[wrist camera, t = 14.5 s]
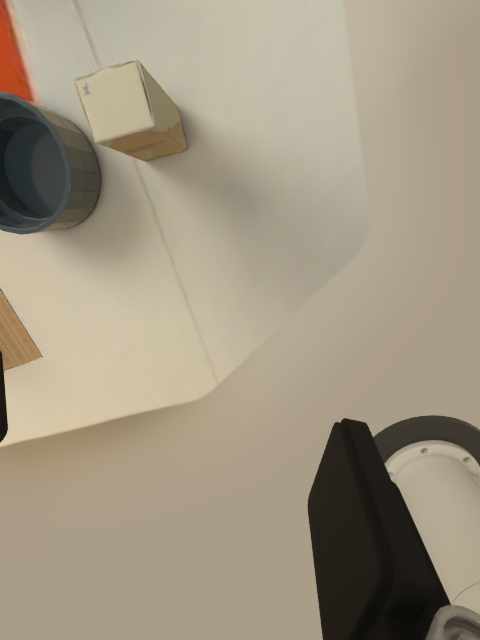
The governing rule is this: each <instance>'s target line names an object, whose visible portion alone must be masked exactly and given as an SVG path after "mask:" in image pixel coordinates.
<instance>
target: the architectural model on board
mask: <svg viewBox="0 0 480 640" xmlns="http://www.w3.org/2000/svg"><path fill="white" fill-rule="evenodd" d="M0 351H1V352H2V357H3V370H7V369H9V368H12V367H15V366H18V365H21V364H23V363H26V362H29V361H32V360H35V359H37V358H40V357H42V356H41V354H40V352H39V351H38V349H37V348H36V346H35V344H34V343H33V341H32V340H31V338H30V336H29V335H28V333H27V332H26V330H25V328H24V327H23V325H22V324H21V322H20V320H19V319H18V317H17V316H16V314H15V312H14V311H13V309H12V308H11V306H10V304H9V303H8V301H7V300H6V298H5V296H4V295H3V293H2V292H1V290H0Z"/></svg>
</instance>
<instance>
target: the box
mask: <svg viewBox="0 0 480 640" xmlns="http://www.w3.org/2000/svg"><path fill="white" fill-rule="evenodd" d="M74 83H75V86H76V89H77V92H78V96H79V99H80V102H81V105H82V108H83V111H84V114H85V117H86V119H87V122H88V125H89V128H90V131H91V133H92V136H93V139H94V141H95V142H96V143H99V144H102V145H104V146H107V147H109V148H112V149H115V150H117V151H120V152H122V153H125V154H127V155H130V156H132V157H135V158H137V159H140V160H143V161H149V160H153V159H156V158H160V157H164V156H168V155H171V154H175V153H178V152H182V151H185V150H187V144H186V140H185V135H184V131H183V127H182V122H181V118H180V115H179V111H178V107H177V105H176V104H175V103H174V102H173V101H172V100H171V98H170V97H169V96H168V95H167V94H166V93H165V91H164V90H163V89H162V88H161V87H160V85H159V84H158V83H157V82H156V81H155V80H154V78H153V77H152V76H151V75H150V74H149V72H148V71H147V70H146V69H145V68H144V66H143V65H142V64H141V63H140V61H139V60H137V59H133V60H130V61H126V62H123V63H119V64H116V65H113V66H110V67H107V68H104V69H101V70H98V71H95V72H92V73H89V74H87V75H84V76H81V77H78V78H75V79H74Z"/></svg>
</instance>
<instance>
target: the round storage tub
mask: <svg viewBox="0 0 480 640" xmlns="http://www.w3.org/2000/svg"><path fill="white" fill-rule="evenodd" d="M99 176H100V174H99V169H98V165H97V161H96V157H95V154H94V152H93V150H92V148H91V146H90V144H89V143H88V141H87V139H86V137H85V136H84V135H83V134H82V132H81V131H80V130H79V129H78V128H77V127H76V126H75V125H74V124H73V123H72V122H71V121H70V120H68V119H66V118H65V117H63V116H61V115H59V114H58V113H56V112H54V111H52V110H50V109H47V108H45V107H43V106H40V105H38V104H35V103H33V102H31V101H28V100H26V99H24V98H21V97H19V96H17V95H14V94H10V93H4V92H0V229H1V230H2V231H7V232H11V233H16V234H30V233H38V232H46V231H54V230H61V229H68V228H71V227H73V226H75V225H77V224H79V223H80V222H82V221H83V220H84V219H85V218H86V217H87V216H88V214H89V213H90V212H91V211H92V210H93V208H94V206H95V203H96V200H97V197H98V194H99Z"/></svg>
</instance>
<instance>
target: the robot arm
mask: <svg viewBox="0 0 480 640" xmlns="http://www.w3.org/2000/svg"><path fill="white" fill-rule="evenodd" d="M7 430H8V423H7V410H6V397H5V383H4V370H3V357H2V352H1V351H0V442H1V441H2V440H3V439H4V437H5V436H6V434H7ZM308 516H309V524H310V532H311V540H312V549H313V558H314V567H315V576H316V584H317V593H318V601H319V609H320V618H321V627H322V634H323V640H480V466H479V464H478V462H477V461H476V460H475V459H474V457H473V456H472V455H471V454H470V453H469V452H468V451H467V450H466V449H464V448H463V447H461V446H459V445H457V444H454V443H452V442H447V441H442V440H427V441H420V442H416V443H412V444H410V445H407V446H405V447H403V448H401V449H400V450H398V451H396V452H395V453H394V454H393V455H392V456H391V457H390V458H389V459H388V460H387V461H386V463H385V464H384V462H383V460H382V457H381V455H380V453H379V450H378V448H377V446H376V443H375V441H374V439H373V437H372V435H371V432H370V430H369V427H368V426H367V424H366V423H365V422H360V421H355V420H350V419H346V418H344V419H343V420H342V421H341V423H339V422H336V423H335V424H334V426H333V428H332V431H331V434H330V437H329V439H328V442H327V445H326V448H325V451H324V454H323V457H322V460H321V463H320V465H319V468H318V471H317V474H316V477H315V480H314V483H313V486H312V488H311V491H310V494H309V498H308Z"/></svg>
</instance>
